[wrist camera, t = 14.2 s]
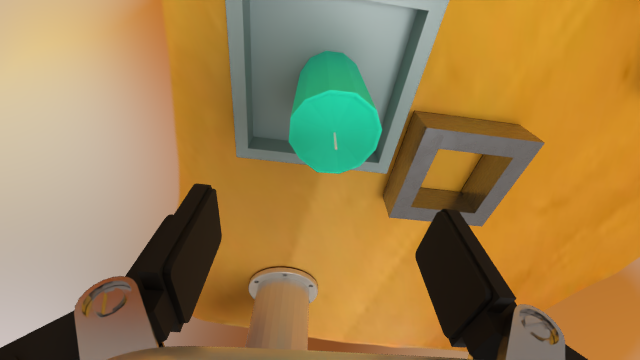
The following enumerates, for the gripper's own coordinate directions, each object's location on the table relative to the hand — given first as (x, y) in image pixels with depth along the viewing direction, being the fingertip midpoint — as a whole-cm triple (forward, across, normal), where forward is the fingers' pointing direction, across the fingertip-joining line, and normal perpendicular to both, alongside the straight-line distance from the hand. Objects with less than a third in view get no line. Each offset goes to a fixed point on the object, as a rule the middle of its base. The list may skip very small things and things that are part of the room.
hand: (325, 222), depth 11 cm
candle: (+18, -1, -1) cm, 18 cm away
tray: (+18, 0, -1) cm, 18 cm away
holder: (+19, -16, +7) cm, 26 cm away
